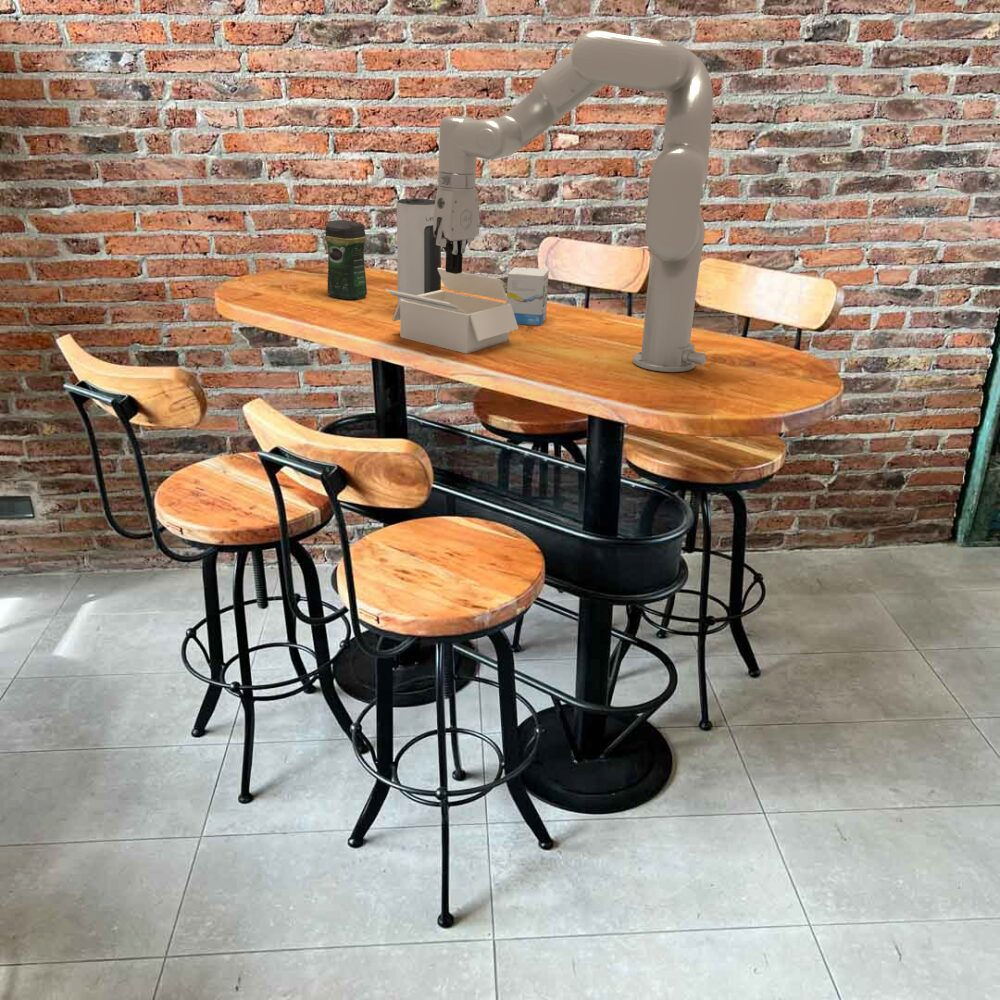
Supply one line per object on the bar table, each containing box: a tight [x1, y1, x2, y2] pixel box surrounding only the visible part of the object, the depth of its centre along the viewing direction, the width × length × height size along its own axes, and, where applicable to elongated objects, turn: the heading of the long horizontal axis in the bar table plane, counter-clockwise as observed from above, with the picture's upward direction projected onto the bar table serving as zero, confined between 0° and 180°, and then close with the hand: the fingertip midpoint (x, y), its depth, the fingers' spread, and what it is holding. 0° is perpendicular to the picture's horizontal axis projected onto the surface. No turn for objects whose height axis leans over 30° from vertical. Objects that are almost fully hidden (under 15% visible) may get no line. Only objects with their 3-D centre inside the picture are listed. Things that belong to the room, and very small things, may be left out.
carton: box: [392, 289, 519, 355], centre depth 210 cm, size 24×14×8 cm, turn 53°
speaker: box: [396, 197, 442, 304], centre depth 228 cm, size 11×10×26 cm
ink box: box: [505, 266, 550, 327], centre depth 227 cm, size 9×8×12 cm
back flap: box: [438, 267, 508, 302], centre depth 211 cm, size 17×1×6 cm, turn 53°
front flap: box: [385, 288, 465, 313], centre depth 200 cm, size 17×1×6 cm
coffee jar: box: [324, 219, 368, 300], centre depth 242 cm, size 10×8×19 cm
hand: (453, 272), depth 206 cm, fingers closed
